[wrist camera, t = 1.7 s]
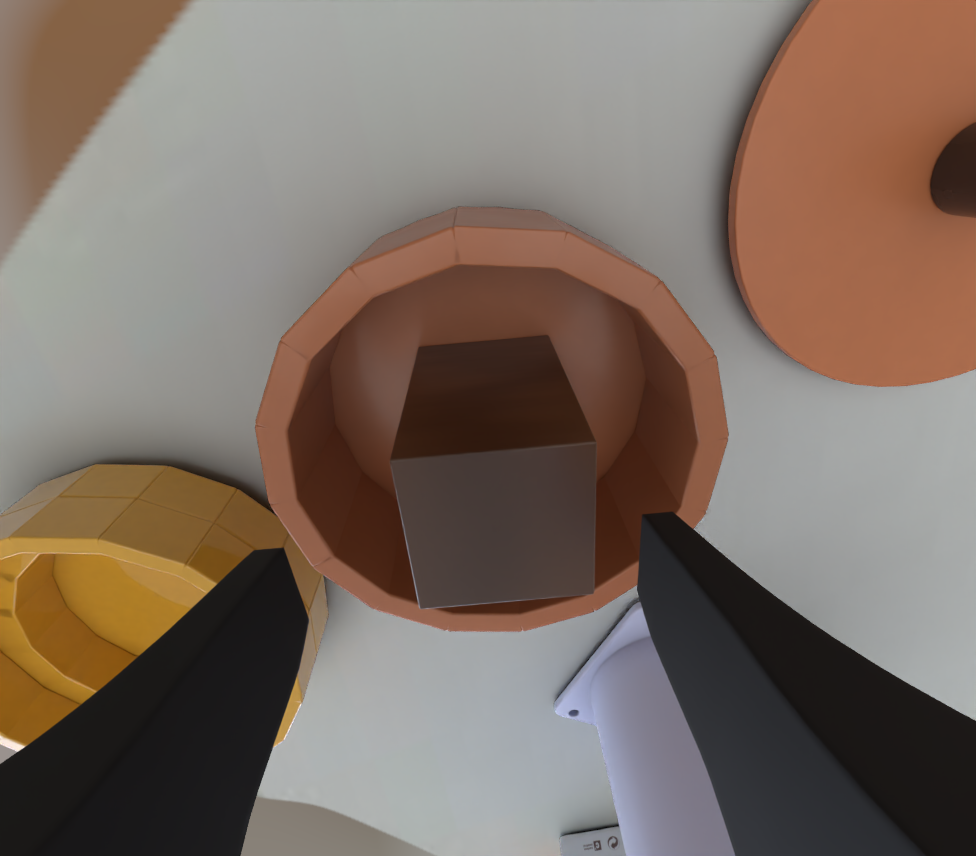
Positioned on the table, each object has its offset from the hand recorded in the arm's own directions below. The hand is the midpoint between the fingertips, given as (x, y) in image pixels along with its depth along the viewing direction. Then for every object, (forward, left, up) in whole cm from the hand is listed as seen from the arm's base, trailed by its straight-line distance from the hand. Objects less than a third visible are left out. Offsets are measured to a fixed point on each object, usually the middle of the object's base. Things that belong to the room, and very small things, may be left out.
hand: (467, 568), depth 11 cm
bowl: (+7, +13, -8) cm, 17 cm away
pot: (-1, 0, -8) cm, 8 cm away
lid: (-10, -12, -8) cm, 17 cm away
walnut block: (-1, 0, -8) cm, 8 cm away
